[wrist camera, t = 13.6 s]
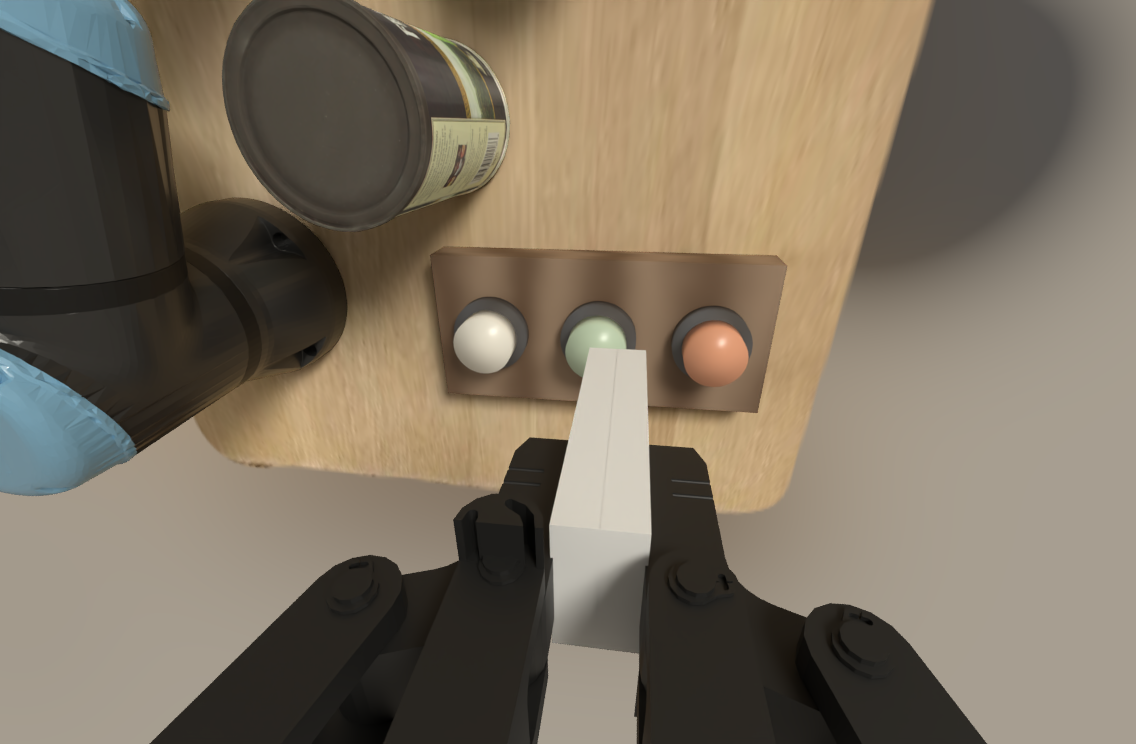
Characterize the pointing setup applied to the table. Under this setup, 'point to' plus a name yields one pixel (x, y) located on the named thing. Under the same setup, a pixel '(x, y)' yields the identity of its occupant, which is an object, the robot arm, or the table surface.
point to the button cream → (485, 341)
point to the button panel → (620, 292)
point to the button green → (592, 340)
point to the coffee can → (358, 111)
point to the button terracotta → (714, 353)
